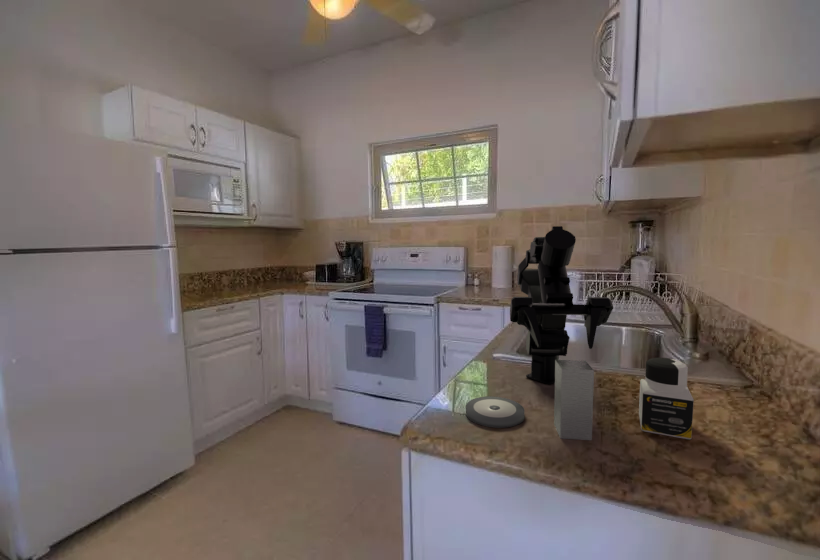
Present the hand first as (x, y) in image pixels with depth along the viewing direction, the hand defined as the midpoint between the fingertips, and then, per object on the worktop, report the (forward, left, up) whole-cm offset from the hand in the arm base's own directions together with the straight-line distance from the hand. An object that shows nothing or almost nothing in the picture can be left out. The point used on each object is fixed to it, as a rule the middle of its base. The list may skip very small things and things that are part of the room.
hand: (565, 347), depth 72 cm
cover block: (+5, +5, -13) cm, 15 cm away
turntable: (+10, -8, -13) cm, 18 cm away
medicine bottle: (-9, +14, -13) cm, 21 cm away
